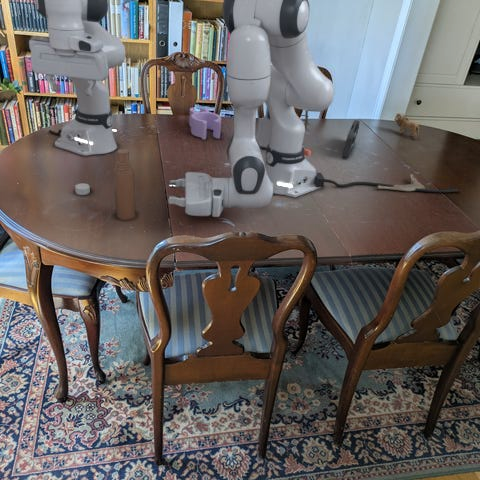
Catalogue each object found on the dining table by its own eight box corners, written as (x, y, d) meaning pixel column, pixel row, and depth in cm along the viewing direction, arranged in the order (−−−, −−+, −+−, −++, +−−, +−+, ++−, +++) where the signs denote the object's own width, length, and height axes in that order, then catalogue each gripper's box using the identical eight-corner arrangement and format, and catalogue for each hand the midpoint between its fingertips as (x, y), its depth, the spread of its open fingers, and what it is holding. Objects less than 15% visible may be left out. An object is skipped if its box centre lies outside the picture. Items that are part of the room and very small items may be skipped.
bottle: (115, 211, 138) (111, 147, 127) (134, 209, 139) (131, 146, 129) (117, 220, 133) (113, 155, 123) (137, 218, 135) (134, 154, 124)
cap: (77, 196, 143) (76, 190, 142) (74, 189, 146) (73, 184, 145) (91, 193, 145) (91, 188, 144) (88, 187, 148) (87, 182, 147)
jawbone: (429, 189, 172) (431, 184, 171) (394, 201, 161) (396, 196, 160) (410, 177, 177) (412, 172, 176) (375, 189, 167) (376, 184, 165)
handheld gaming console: (349, 160, 187) (354, 136, 182) (342, 158, 188) (347, 134, 183) (355, 142, 206) (361, 119, 201) (349, 140, 207) (354, 118, 201)
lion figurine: (389, 131, 222) (394, 113, 217) (394, 129, 226) (399, 111, 221) (418, 140, 215) (424, 121, 210) (423, 138, 218) (429, 119, 214)
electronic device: (288, 147, 193) (299, 72, 177) (283, 153, 187) (295, 76, 171) (259, 141, 196) (268, 67, 179) (254, 147, 190) (262, 71, 173)
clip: (182, 123, 206) (183, 107, 202) (209, 122, 210) (210, 106, 207) (197, 140, 191) (197, 123, 187) (225, 138, 195) (226, 122, 191)
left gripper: (22, 37, 119) (30, 91, 126) (100, 46, 118) (104, 100, 126) (33, 33, 124) (40, 85, 132) (109, 42, 124) (112, 94, 131)
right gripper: (215, 167, 142) (169, 166, 141) (219, 200, 126) (168, 199, 124) (214, 185, 146) (170, 184, 144) (218, 220, 129) (168, 219, 127)
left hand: (72, 93), depth 129 cm, fingers open, 8 cm apart
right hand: (169, 191), depth 134 cm, fingers open, 8 cm apart
